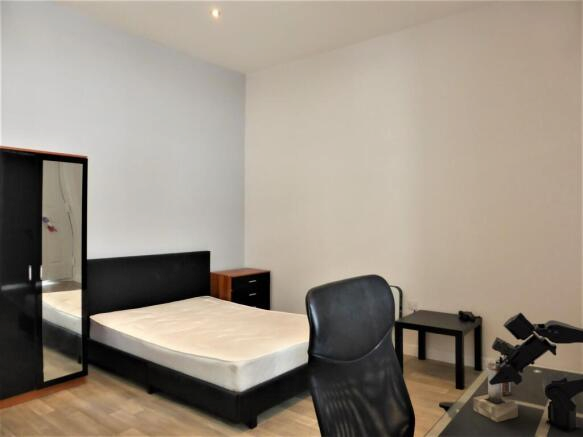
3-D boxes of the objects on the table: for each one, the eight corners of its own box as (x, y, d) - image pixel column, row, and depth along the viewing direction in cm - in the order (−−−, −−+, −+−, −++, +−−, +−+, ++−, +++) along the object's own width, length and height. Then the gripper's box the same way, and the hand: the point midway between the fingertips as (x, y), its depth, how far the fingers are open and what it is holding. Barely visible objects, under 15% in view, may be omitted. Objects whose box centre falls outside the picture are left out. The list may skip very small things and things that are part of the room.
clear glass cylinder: (506, 405, 132) (505, 366, 132) (496, 407, 130) (495, 368, 130) (494, 399, 136) (493, 362, 136) (484, 402, 134) (484, 364, 134)
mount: (517, 416, 131) (517, 403, 131) (497, 422, 127) (497, 408, 127) (493, 405, 139) (493, 393, 139) (473, 410, 135) (473, 397, 135)
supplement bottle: (492, 393, 148) (491, 362, 149) (492, 388, 154) (492, 357, 154) (511, 397, 146) (510, 364, 146) (511, 391, 151) (510, 359, 151)
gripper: (508, 324, 140) (472, 353, 145) (508, 337, 123) (468, 369, 128) (535, 351, 136) (498, 379, 141) (540, 368, 120) (497, 400, 124)
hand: (490, 381), depth 134 cm, fingers closed on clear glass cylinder, 4 cm apart
